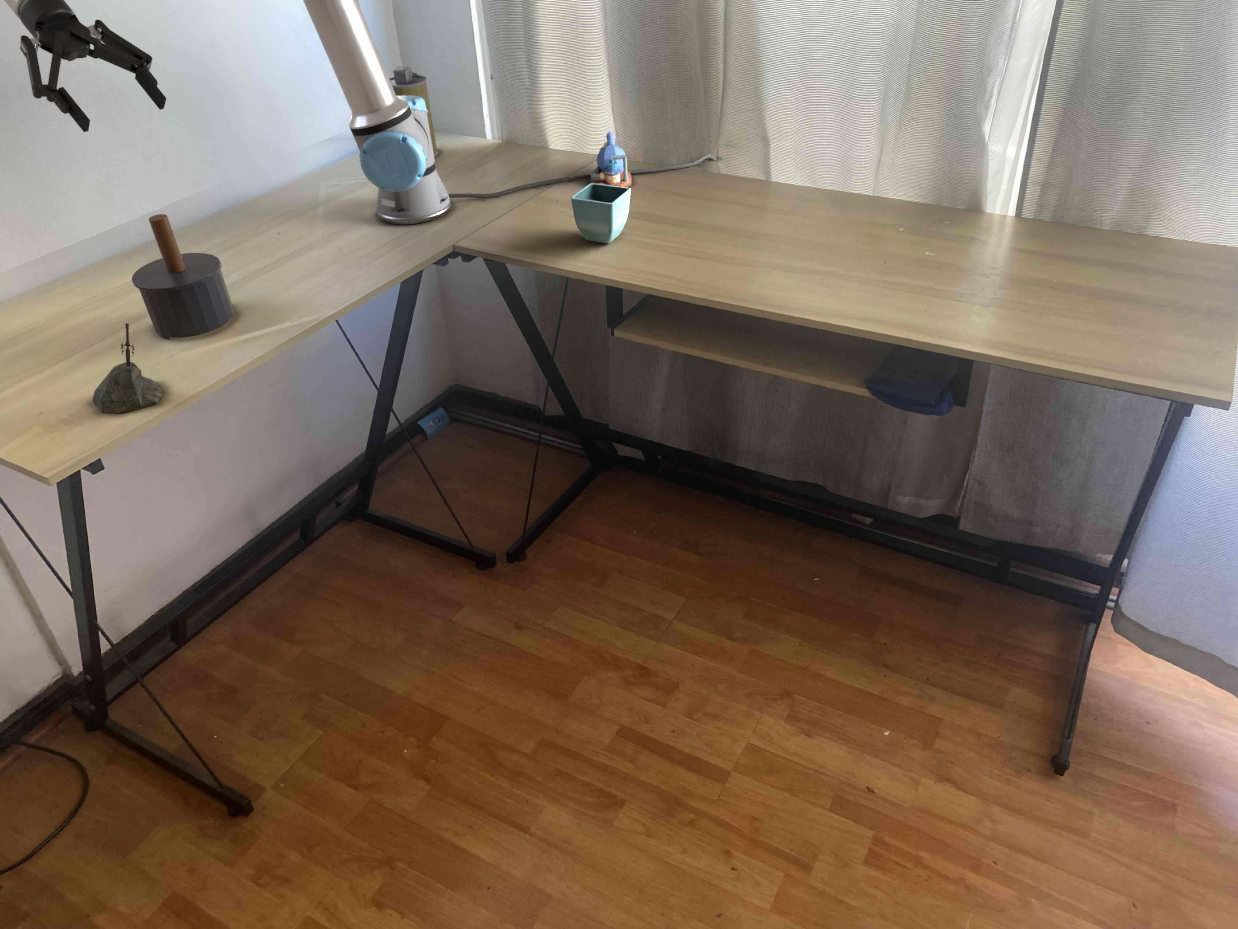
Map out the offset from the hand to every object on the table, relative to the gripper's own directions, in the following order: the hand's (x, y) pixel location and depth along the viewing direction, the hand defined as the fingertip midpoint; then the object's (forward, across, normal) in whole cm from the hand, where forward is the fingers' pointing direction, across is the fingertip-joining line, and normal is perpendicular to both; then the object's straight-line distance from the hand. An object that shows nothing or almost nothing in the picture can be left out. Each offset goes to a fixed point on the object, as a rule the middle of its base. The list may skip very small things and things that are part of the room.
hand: (126, 115), depth 151 cm
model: (+48, -82, +4) cm, 95 cm away
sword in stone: (+41, +29, -2) cm, 50 cm away
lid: (+25, +8, -5) cm, 27 cm away
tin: (+32, +8, -12) cm, 35 cm away
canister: (+11, -74, -33) cm, 82 cm away
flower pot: (+60, -55, +17) cm, 84 cm away
